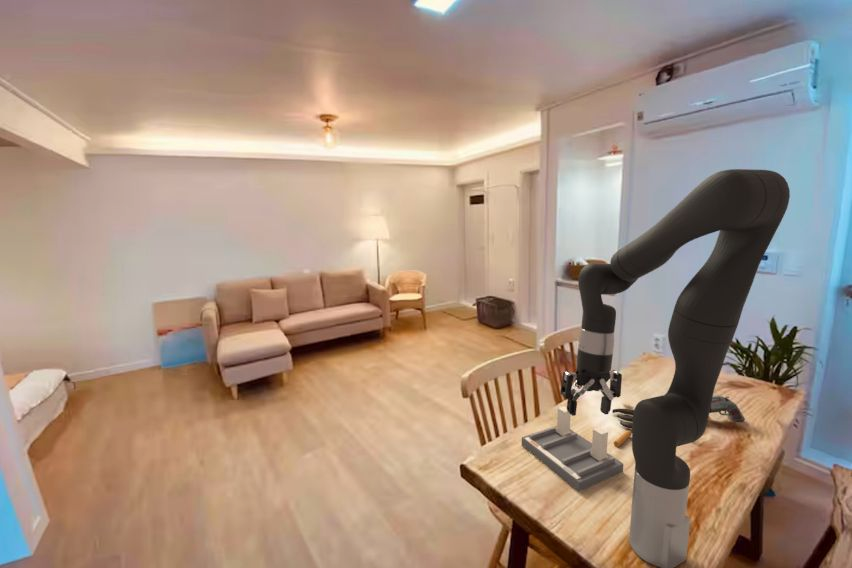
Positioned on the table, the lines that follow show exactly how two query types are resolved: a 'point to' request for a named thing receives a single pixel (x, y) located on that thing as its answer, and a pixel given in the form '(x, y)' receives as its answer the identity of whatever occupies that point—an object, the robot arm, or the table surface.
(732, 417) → the toy gun
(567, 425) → the far tab
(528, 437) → the switch box
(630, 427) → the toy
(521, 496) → the table surface
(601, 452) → the near tab
